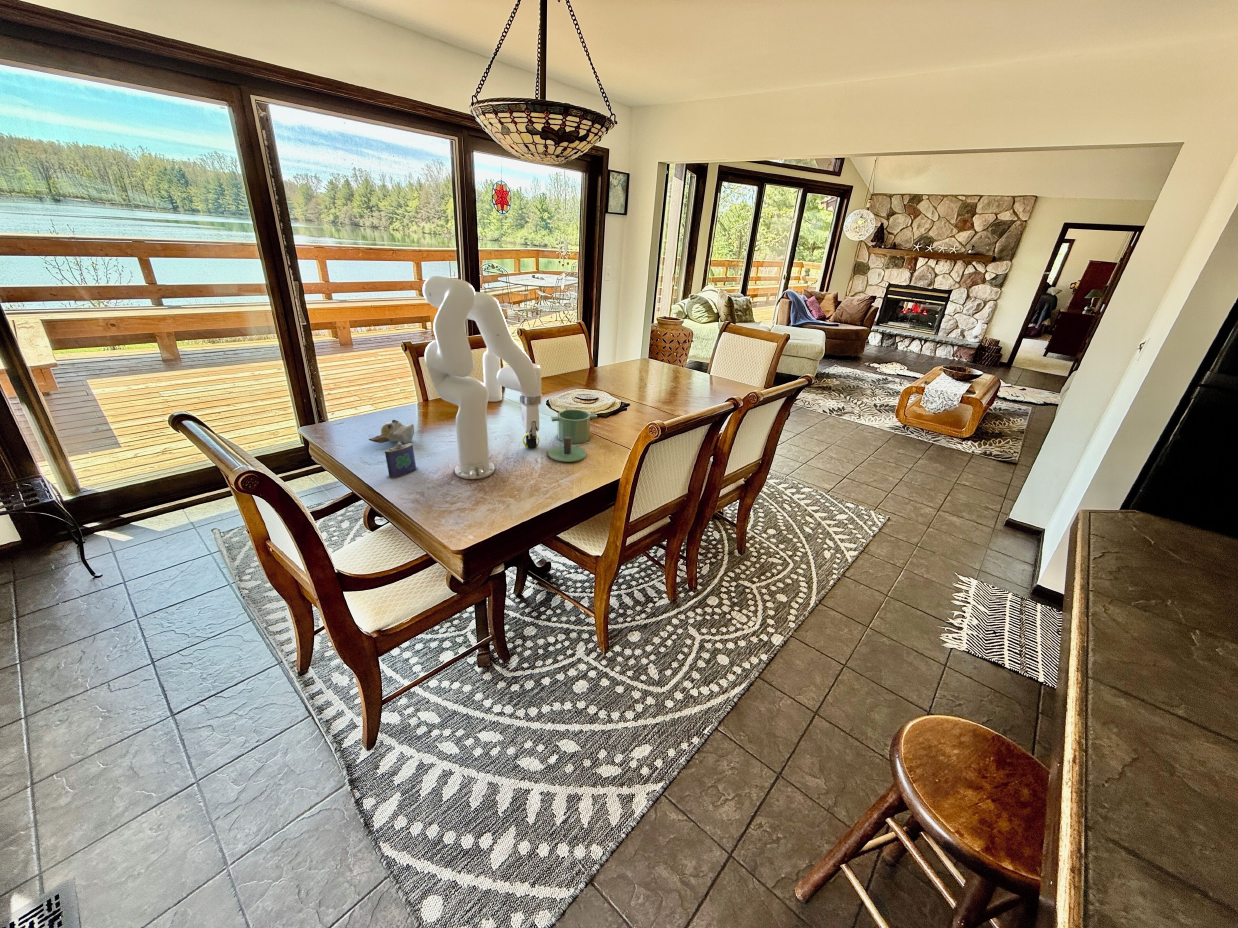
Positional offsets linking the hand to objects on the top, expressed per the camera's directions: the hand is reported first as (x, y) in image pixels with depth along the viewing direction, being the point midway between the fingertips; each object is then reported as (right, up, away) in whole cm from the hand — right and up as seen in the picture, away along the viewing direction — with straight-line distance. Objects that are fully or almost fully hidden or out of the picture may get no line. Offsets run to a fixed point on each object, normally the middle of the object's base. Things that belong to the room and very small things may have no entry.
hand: (531, 445), depth 179 cm
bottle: (-27, +24, +48) cm, 59 cm away
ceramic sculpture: (-50, +1, -2) cm, 50 cm away
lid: (+14, -3, -4) cm, 15 cm away
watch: (0, -1, 0) cm, 1 cm away
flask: (-37, -10, -24) cm, 45 cm away
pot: (+15, +4, +12) cm, 19 cm away
